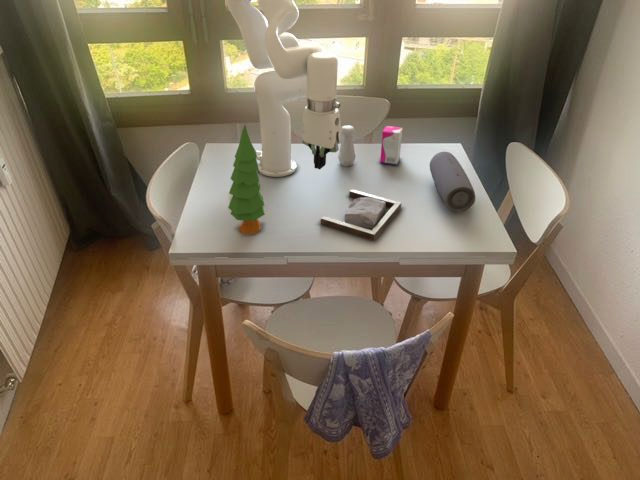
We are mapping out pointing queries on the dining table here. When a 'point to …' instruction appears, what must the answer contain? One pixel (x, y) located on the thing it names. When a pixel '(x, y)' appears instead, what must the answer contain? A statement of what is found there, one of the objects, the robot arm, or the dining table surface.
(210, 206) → the dining table surface
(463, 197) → the bluetooth speaker
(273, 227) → the dining table surface
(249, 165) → the decorative tree
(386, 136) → the supplement box
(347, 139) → the salt shaker
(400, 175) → the dining table surface
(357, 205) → the stone block
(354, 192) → the frame
